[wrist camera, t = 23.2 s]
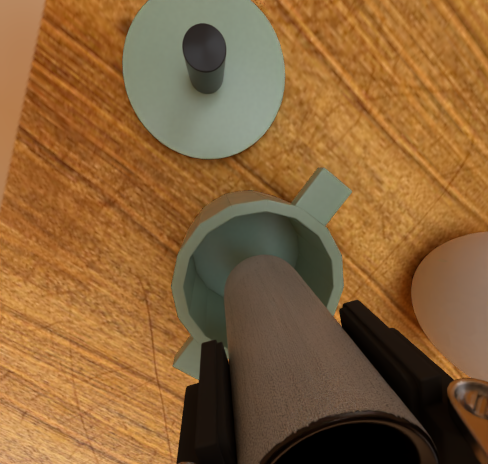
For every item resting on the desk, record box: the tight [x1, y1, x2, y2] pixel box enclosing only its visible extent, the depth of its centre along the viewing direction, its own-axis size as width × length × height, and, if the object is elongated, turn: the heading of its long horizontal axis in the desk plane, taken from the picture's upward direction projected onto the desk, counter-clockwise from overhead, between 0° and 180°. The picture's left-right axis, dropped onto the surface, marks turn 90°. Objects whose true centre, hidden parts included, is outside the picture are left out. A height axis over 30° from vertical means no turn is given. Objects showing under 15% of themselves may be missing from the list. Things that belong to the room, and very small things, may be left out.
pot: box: [171, 168, 352, 380], centre depth 20 cm, size 10×16×8 cm, turn 143°
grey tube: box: [224, 255, 440, 464], centre depth 11 cm, size 4×4×10 cm
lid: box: [122, 0, 285, 159], centre depth 17 cm, size 11×11×6 cm
